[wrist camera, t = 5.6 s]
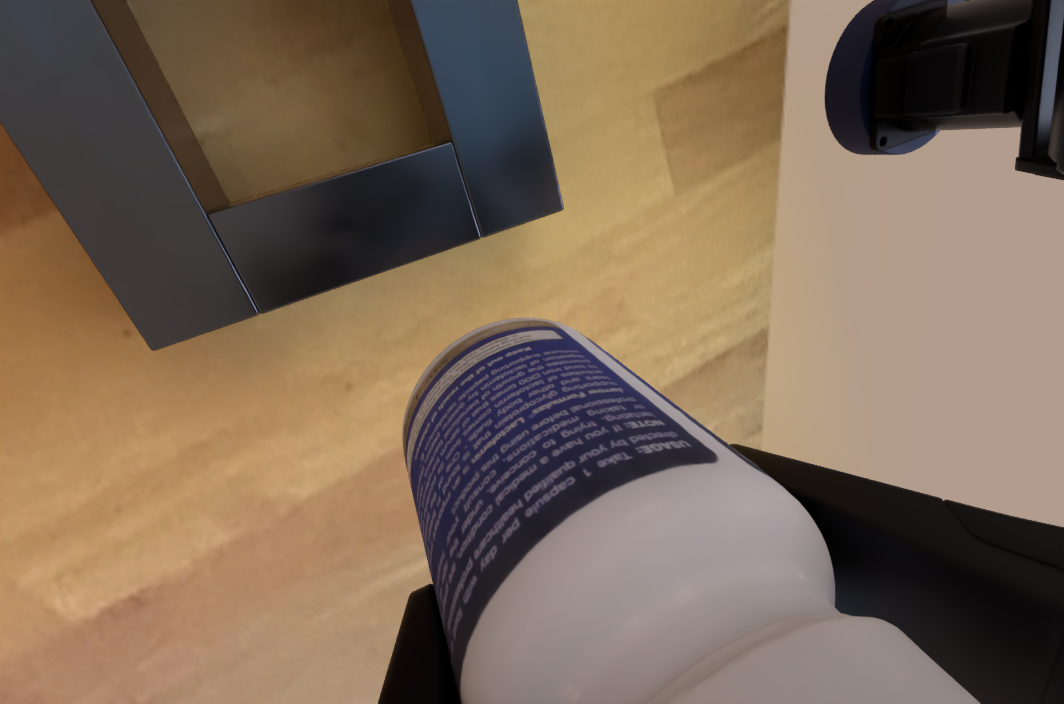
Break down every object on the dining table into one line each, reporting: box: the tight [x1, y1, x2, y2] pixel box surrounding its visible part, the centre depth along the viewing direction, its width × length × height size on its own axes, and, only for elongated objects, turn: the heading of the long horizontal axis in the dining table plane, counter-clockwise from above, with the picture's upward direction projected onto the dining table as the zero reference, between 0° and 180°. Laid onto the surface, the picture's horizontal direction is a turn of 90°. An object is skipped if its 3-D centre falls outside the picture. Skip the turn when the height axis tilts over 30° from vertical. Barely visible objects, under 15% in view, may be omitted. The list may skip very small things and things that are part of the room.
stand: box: [0, 0, 564, 351], centre depth 14 cm, size 13×13×4 cm
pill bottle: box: [403, 318, 981, 704], centre depth 9 cm, size 6×6×10 cm
